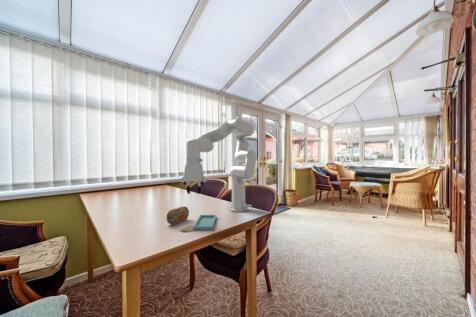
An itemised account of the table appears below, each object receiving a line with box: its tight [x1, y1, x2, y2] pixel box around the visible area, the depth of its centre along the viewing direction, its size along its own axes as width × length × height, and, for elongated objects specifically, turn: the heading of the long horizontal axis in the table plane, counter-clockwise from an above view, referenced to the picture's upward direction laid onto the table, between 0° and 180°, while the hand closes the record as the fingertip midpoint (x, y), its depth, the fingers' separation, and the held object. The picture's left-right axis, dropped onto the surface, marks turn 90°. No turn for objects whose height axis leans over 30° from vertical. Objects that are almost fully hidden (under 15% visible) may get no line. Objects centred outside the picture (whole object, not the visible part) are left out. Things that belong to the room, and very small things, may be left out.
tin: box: [166, 206, 190, 226], centre depth 118 cm, size 15×3×8 cm, turn 149°
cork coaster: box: [179, 225, 195, 233], centre depth 107 cm, size 8×8×1 cm
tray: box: [192, 214, 217, 231], centre depth 116 cm, size 10×21×2 cm, turn 1°
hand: (193, 193), depth 116 cm, fingers open, 5 cm apart
